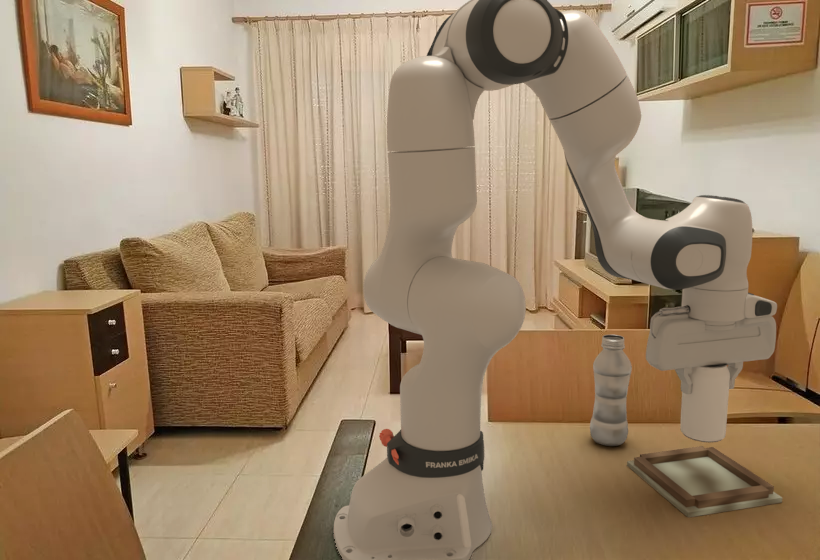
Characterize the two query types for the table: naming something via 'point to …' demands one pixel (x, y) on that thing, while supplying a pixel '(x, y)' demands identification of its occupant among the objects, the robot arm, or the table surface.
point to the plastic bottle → (610, 392)
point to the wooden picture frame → (703, 481)
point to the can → (706, 404)
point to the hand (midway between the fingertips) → (707, 390)
